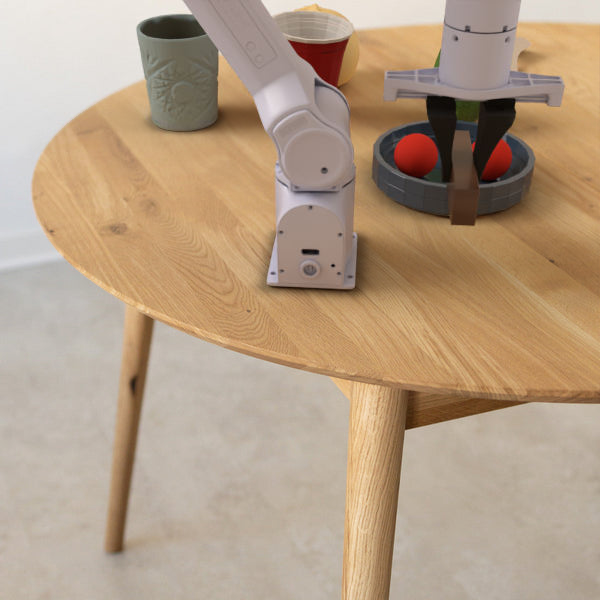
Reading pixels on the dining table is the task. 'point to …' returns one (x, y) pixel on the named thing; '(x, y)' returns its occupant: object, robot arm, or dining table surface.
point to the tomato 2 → (497, 161)
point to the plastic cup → (317, 40)
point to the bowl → (430, 188)
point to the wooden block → (463, 182)
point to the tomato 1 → (415, 155)
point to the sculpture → (351, 49)
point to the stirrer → (518, 50)
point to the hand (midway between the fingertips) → (460, 178)
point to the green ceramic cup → (179, 72)
